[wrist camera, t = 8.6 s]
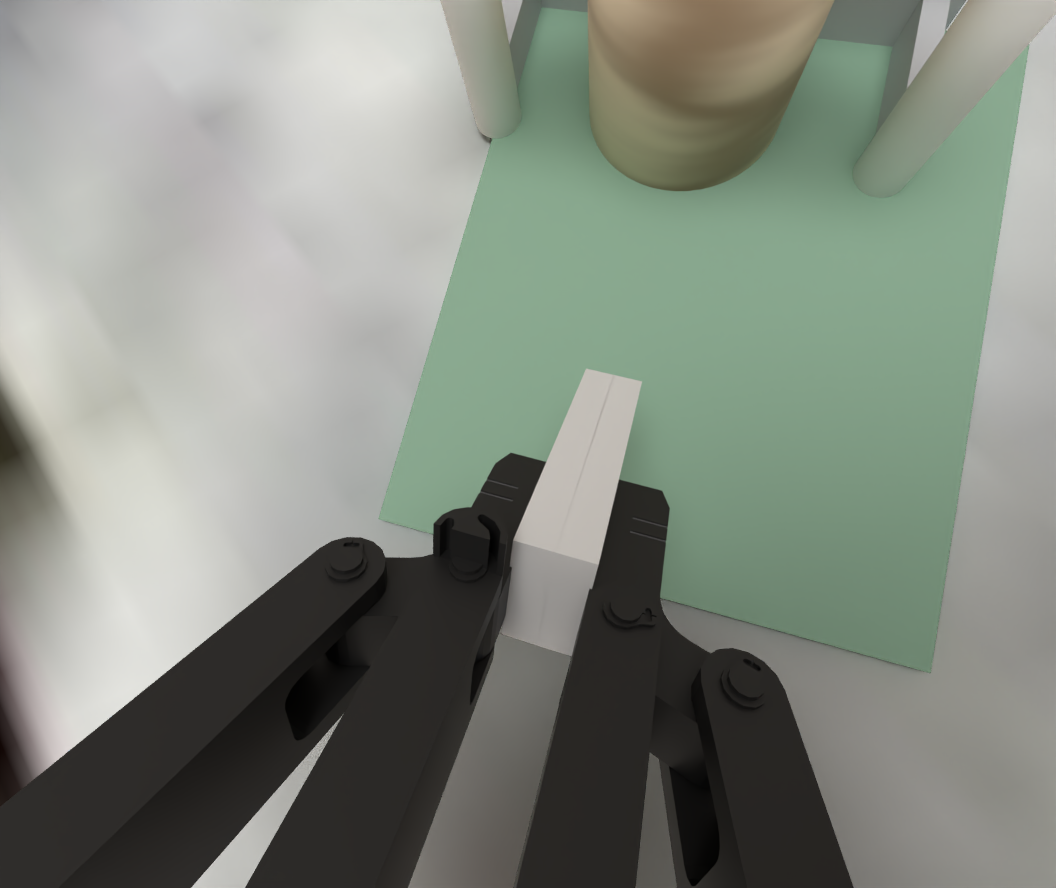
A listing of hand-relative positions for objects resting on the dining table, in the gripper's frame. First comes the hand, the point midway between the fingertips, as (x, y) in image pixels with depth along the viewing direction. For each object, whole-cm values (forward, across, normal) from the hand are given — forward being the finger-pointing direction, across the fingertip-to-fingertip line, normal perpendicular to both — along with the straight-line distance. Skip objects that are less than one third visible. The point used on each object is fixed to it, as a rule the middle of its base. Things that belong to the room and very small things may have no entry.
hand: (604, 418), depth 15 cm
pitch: (+8, +2, +2) cm, 8 cm away
